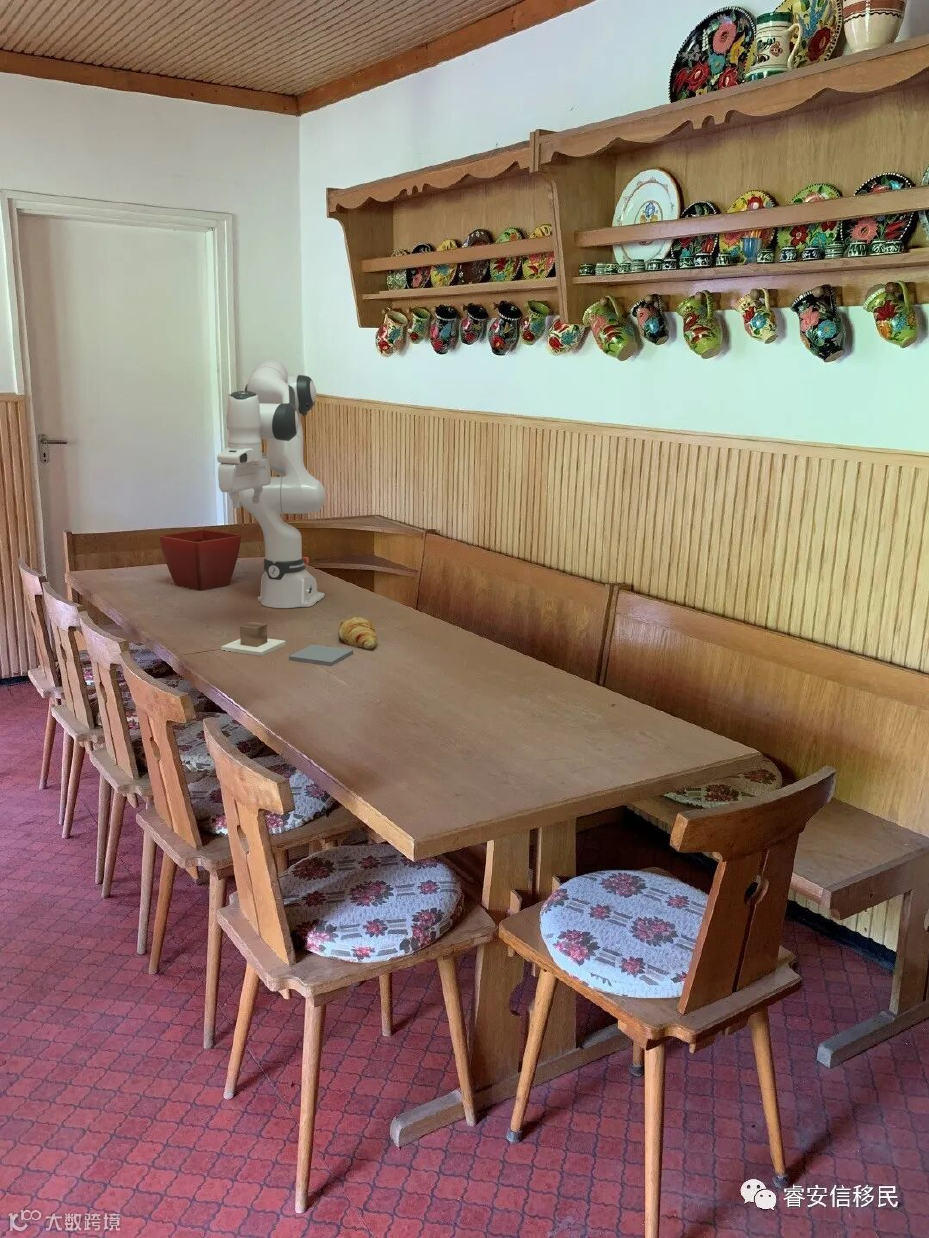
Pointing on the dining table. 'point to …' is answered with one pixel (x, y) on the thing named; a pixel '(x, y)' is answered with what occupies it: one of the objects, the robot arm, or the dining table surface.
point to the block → (253, 634)
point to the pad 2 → (321, 655)
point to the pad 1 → (258, 651)
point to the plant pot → (201, 558)
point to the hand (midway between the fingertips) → (246, 505)
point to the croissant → (358, 633)
